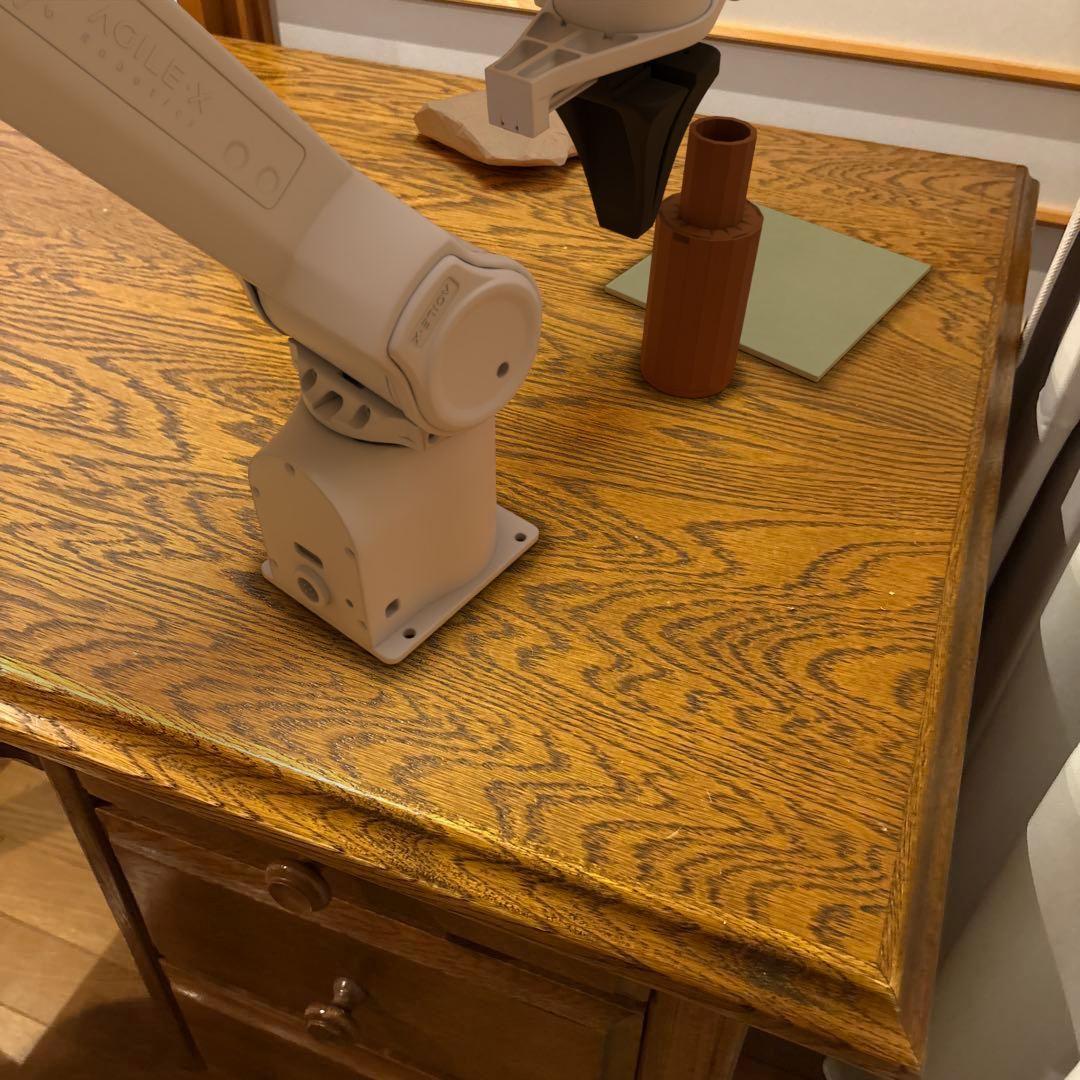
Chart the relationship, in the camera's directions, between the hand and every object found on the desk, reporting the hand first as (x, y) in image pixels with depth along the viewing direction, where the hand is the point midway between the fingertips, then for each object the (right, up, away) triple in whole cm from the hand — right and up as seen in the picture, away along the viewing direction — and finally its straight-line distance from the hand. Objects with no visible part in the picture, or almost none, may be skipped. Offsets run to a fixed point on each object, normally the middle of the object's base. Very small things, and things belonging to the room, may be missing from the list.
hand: (625, 225), depth 43 cm
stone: (-5, +15, +30) cm, 34 cm away
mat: (+10, +2, +17) cm, 20 cm away
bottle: (+4, -4, +10) cm, 12 cm away
